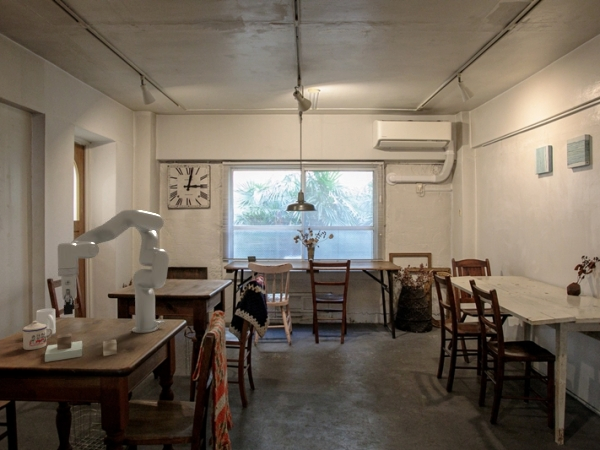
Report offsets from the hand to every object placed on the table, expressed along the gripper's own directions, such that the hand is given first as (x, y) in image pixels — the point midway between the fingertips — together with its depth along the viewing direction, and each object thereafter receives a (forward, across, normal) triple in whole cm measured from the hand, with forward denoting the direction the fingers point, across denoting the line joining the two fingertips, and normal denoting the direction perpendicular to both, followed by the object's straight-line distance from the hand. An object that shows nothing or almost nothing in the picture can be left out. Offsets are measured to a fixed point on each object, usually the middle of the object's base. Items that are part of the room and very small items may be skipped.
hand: (69, 311), depth 165 cm
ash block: (+18, -7, -15) cm, 25 cm away
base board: (+18, +1, +2) cm, 18 cm away
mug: (+18, +38, +12) cm, 44 cm away
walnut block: (+15, +1, +2) cm, 15 cm away
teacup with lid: (+18, +20, +13) cm, 30 cm away
